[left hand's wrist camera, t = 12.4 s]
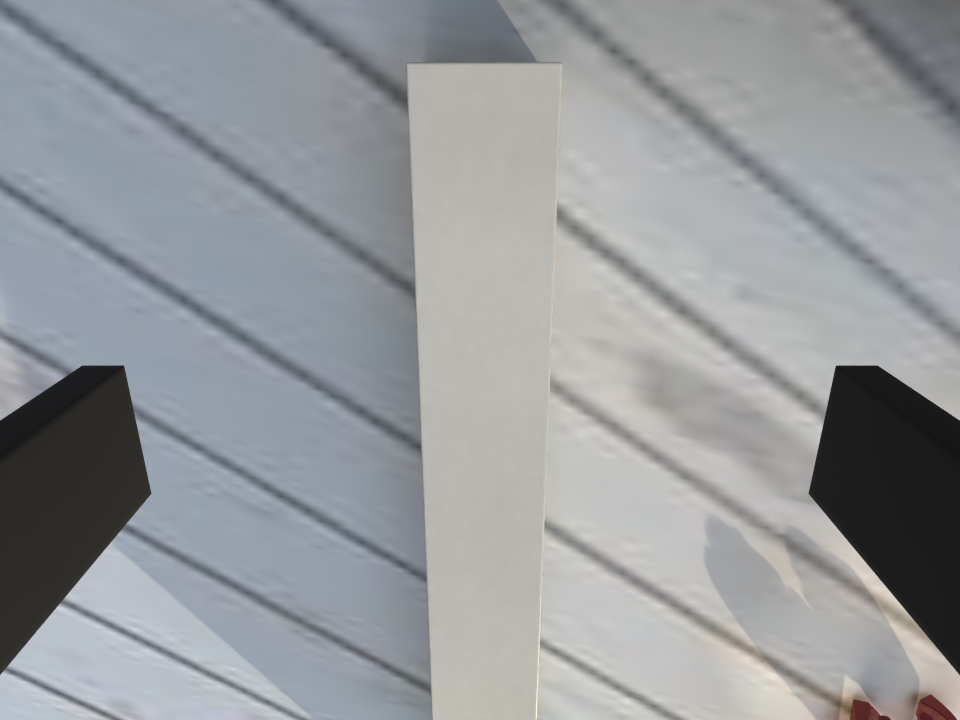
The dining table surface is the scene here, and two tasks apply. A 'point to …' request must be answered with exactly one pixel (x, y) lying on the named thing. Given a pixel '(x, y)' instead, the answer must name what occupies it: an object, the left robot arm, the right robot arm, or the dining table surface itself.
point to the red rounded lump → (929, 712)
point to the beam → (484, 369)
